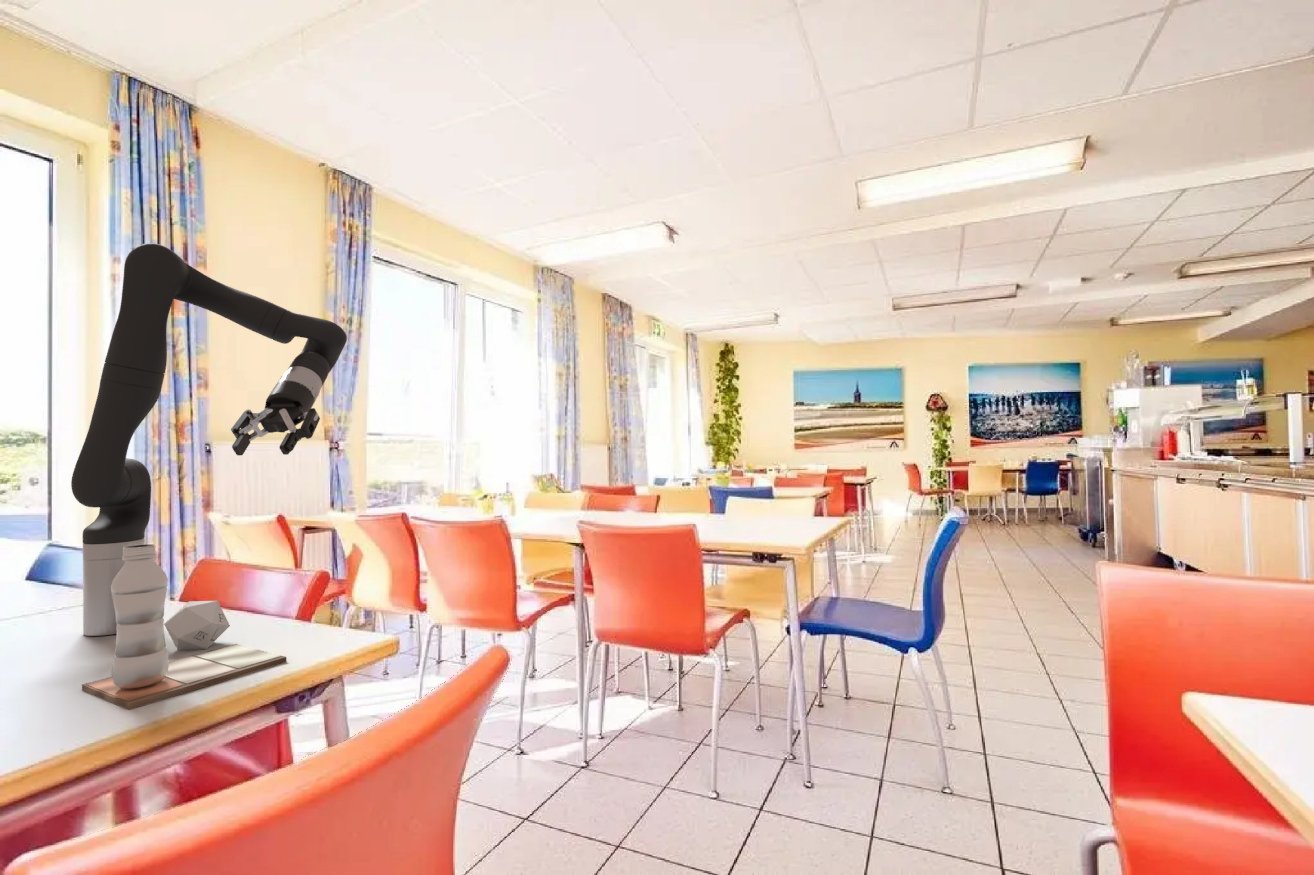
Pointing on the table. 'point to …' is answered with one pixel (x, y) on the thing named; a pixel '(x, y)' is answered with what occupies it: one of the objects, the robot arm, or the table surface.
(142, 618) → the plastic bottle
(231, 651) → the game board
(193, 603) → the die
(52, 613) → the table surface
